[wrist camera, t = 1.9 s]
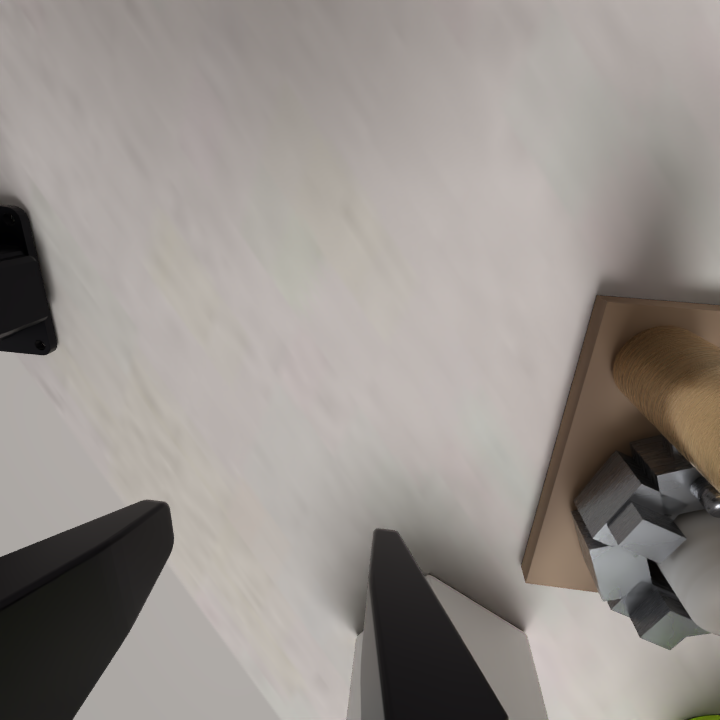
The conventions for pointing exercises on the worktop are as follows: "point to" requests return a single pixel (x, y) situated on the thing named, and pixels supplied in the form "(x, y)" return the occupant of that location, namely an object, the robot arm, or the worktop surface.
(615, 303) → the mount board
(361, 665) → the robot arm
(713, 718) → the soap dispenser
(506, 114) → the worktop surface
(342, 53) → the worktop surface
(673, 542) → the desk sculpture ornament
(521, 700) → the medicine bottle
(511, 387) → the worktop surface
